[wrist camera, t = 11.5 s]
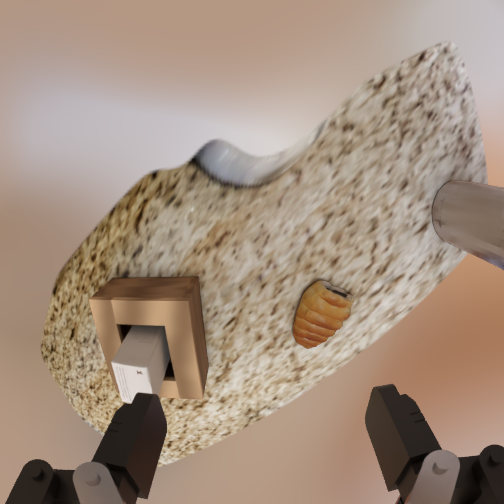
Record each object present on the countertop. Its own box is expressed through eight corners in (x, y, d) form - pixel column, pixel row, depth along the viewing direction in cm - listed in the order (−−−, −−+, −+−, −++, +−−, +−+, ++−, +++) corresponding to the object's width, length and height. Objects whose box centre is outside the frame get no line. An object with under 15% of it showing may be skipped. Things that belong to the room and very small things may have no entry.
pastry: (320, 347, 41) (326, 362, 37) (278, 332, 40) (281, 347, 36) (354, 291, 38) (363, 303, 35) (311, 273, 37) (317, 284, 34)
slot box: (198, 276, 37) (188, 300, 30) (208, 366, 41) (202, 399, 34) (112, 277, 37) (88, 299, 30) (132, 362, 41) (116, 392, 34)
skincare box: (141, 308, 38) (106, 359, 26) (173, 310, 38) (146, 365, 26) (146, 346, 39) (118, 402, 28) (176, 349, 39) (155, 408, 28)
